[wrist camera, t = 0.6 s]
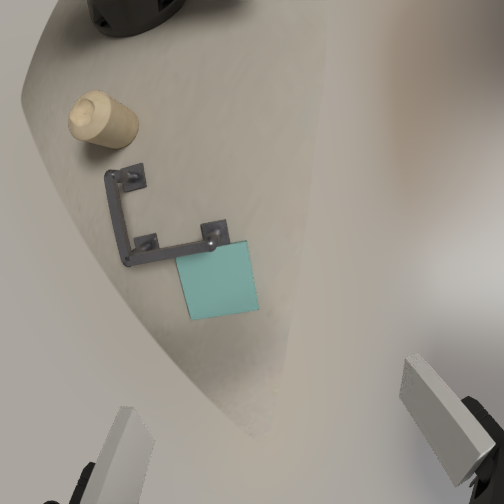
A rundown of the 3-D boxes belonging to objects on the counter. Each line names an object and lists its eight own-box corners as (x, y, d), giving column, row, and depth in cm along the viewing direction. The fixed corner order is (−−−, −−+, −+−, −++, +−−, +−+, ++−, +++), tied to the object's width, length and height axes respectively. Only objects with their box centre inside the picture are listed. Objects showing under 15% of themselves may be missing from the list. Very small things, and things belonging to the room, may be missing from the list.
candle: (101, 151, 31) (58, 142, 21) (104, 112, 30) (64, 93, 20) (138, 146, 31) (102, 134, 21) (140, 106, 30) (107, 81, 20)
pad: (175, 253, 34) (174, 254, 34) (246, 240, 34) (246, 241, 34) (192, 317, 36) (191, 319, 36) (258, 307, 36) (258, 309, 36)
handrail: (122, 169, 32) (94, 166, 24) (212, 146, 32) (204, 135, 24) (140, 259, 34) (117, 277, 27) (230, 243, 34) (227, 258, 27)
